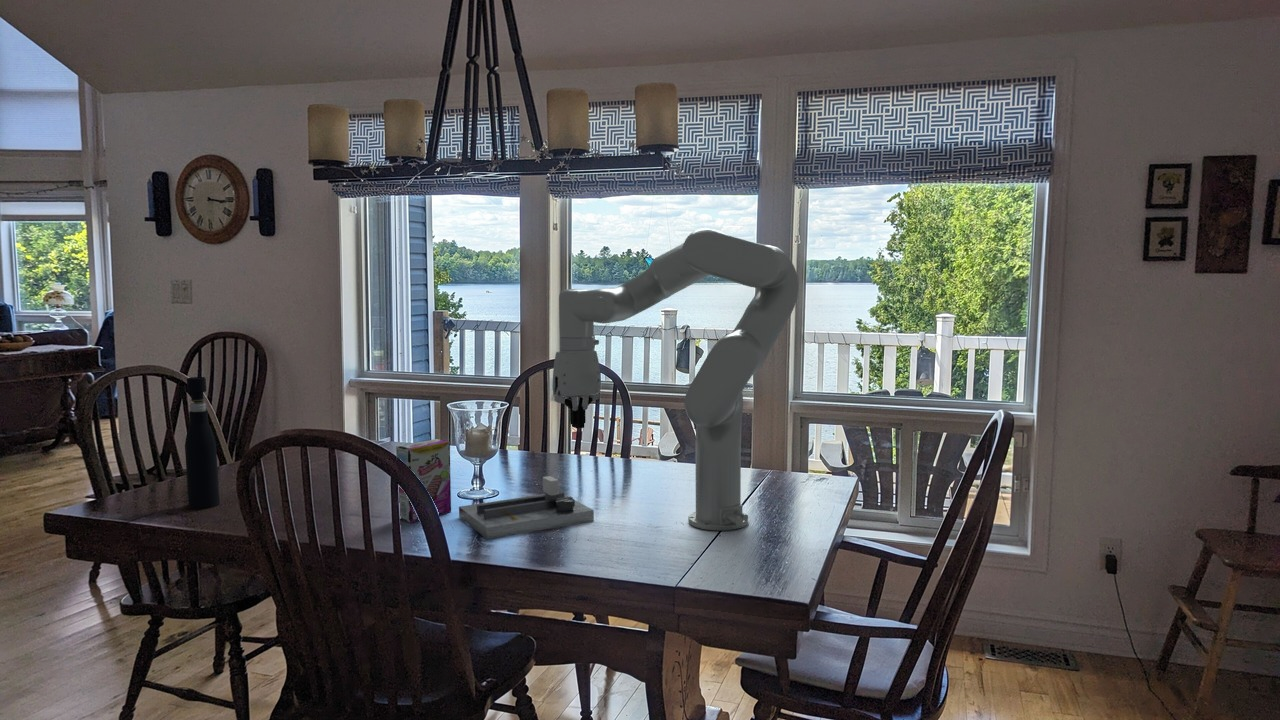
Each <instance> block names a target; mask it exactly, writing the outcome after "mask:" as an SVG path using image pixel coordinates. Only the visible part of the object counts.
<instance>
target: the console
mask: <svg viewBox="0 0 1280 720" xmlns="http://www.w3.org/2000/svg"><path fill="white" fill-rule="evenodd" d="M594 512H595V511H594V509H592V508H591V507H589V506H587V505H585V504H583V503H581V502H579V501H577V500H575V498H573V497H572V496H570V495H569V496H568V495H566V494H565V492H563V491H561V492H560V491H559V495H557V499H550V500H545V493H543V494H534V495H528V496H522V497H515V498H509V499H502V500H495V501H488V502H482V503H476V504H469V505H462V506H458V514H459V515H458V517H459V518H460V519H461V520H462V521H463V522H465V524H467V525H468V526H470V527H471V528H472V529H473V530H474V531H476V533H477V532H478V533H479V534H480V535H481V536H482V537H484V539H486V540H491V539H497V538H502V537H507V536H509V537H510V536H515V535H520V534H527V533H532V532H538V531H543V530H549V529H550V530H551V529H554V528H561V527H566V526H573V525H578V524H585V523H591V522H594V521H595V513H594Z"/></svg>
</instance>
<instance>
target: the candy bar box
mask: <svg viewBox="0 0 1280 720" xmlns="http://www.w3.org/2000/svg"><path fill="white" fill-rule="evenodd" d="M395 449H396V451H395V452H396V458H397V457H398V458H399V459H401V460H402V461H403V462H404V463H405V464H406V465H407V466H408V467H409V468H410V469H411V470H412V471H413V472H414V473H415V475H416V476H417V477H418V478H419V479H420V481H421V482H422V483H423V485H424V486H425V488H426V489H427V491H428V492H429V494H430V496H431V497H432V499H433V501H434V503H435V505H436V507H437V509H438V512H439V515H438V516H441V515H445V514H448V513H451V512H452V490H451V489H452V488H451V485H452V484H451V441H449V440H445V439H439V438H436V439H435V438H434V439H429V440H424V441H418V442H412V443H411V442H410V443H407V444H400V445H396V448H395ZM399 503H400V516H401V520H400V521H403V522H407V523H410V524H411V523H414V522H418V521H420V520H418V517H417V515H416V513H415V511H414V509H413V507H412V505H411V503H410V501H409V499H408V498H407V496H406V494H405V493H404V491H403V490H402V489H401V488H400V487H399Z"/></svg>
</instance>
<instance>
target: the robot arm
mask: <svg viewBox="0 0 1280 720" xmlns="http://www.w3.org/2000/svg"><path fill="white" fill-rule="evenodd" d="M710 276H713V277H715V278H718V279H719V278H720V279H721V280H722V279H723V280H726V281H729V282H732V283H736V284H738V285H741V286H742V285H743V286H745V287H748V288H755V289H756V290H755V294H754V297H753V298H752V299H751V301H750V302H749V304H748V305H747V307H746V308H745V310H744V313H743V314H742V315H741V317H740V319H739V321H738V323H737V324H736V326H735V327H734V329H733V331H732V332H731V333H729V334H726V335H724V336H723V337H721V338H720V339H719V340H718V341H717V342H716V343H715V344H714V345H713V346H712V348H711V350H710V351H709V353H708V354H707V356H706V358H705V359H704V361H703V363H702V364H701V367H700V368H699V370H698V372H697V373H696V375H695V377H694V378H693V380H692V382H691V383H690V385H689V387H688V389H687V391H686V393H685V396H684V403H683V405H684V406H683V407H684V410H685V413H686V416H687V418H688V419H689V421H691V422H692V423H693V424H694V425H696V426H695V427H696V429H695V458H694V459H695V511H694V512H692V513H689V515H688V524H689V525H691V526H693V527H695V528H697V529H700V530H704V531H705V530H707V531H720V532H721V531H722V532H723V531H732V530H738V529H741V528H744V527H746V526H747V525H748V523H749V515H748V514H747V513H743V508H744V507H743V504H741V501H742V500H741V499H742V498H741V497H742V496H741V494H742V493H741V491H742V489H741V488H742V487H741V479H742V478H741V477H742V476H741V475H742V474H741V471H742V470H741V469H742V468H741V467H742V466H741V464H742V463H741V461H742V460H741V455H742V454H741V453H742V447H741V446H742V423H743V421H742V420H743V411H744V395H743V391H744V389H745V388H746V386H747V384H748V383H749V381H750V379H751V378H752V377H753V376H754V375H755V374H757V373H758V372H759V371H760V370H761V369H762V367H763V366H764V363H765V361H766V359H767V358H768V355H769V354H770V352H771V350H772V349H773V347H774V345H775V343H776V342H777V340H778V339H779V337H780V336H781V333H782V331H783V329H784V327H785V325H786V324H787V322H788V321H789V318H790V317H791V315H792V313H793V311H794V308H795V306H796V304H797V300H798V297H799V290H800V289H799V287H800V286H799V285H800V284H799V276H798V274H797V270H796V267H795V265H794V264H793V262H792V260H791V259H790V257H789V256H788V255H787V254H786V252H784V250H782V249H780V248H779V247H777V246H773V245H770V244H762V243H759V242H754V241H750V240H746V239H742V238H738V237H736V236H731V235H728V234H726V233H725V232H722V231H720V230H718V229H712V228H705V227H704V228H703V227H702V228H700V229H696V230H694V231H692V232H691V233H689V235H687V237H686V239H684V242H683V243H681V244H679V245H677V246H675V247H674V248H672V249H670V250H668V251H666V252H665V253H663V254H661V255H658V256H657V257H655V258H654V259H653V260H652V261H651V262H650V264H649V266H648V268H647V269H645V271H643V272H642V273H641V274H639V275H637V276H636V277H633V278H632V279H630V280H629V281H626V282H625V283H623V284H621V285H619V286H615V287H605V288H603V287H602V288H598V289H597V288H596V289H591V290H590V289H586V288H567V289H563V290H561V291H560V292H559V296H558V317H559V318H558V319H559V320H558V323H559V324H558V325H559V327H558V328H559V351H556V352H555V356H554V360H553V361H554V362H553V371H552V393H553V395H554V403H555V402H556V403H559V404H564V406H566V408H567V409H568V410H570V411H569V414H570V415H569V416H570V417H569V418H570V419H569V420H570V421H569V422H570V424H571V427H572V428H575V429H577V430H578V429H584V428H585V424H586V410H588V407H589V405H590V404H591V403H592V402H595V401H597V400H600V399H601V394H600V392H601V385H602V384H601V383H602V380H601V370H600V361H599V356H598V353H597V350H595V348H596V346H598V345H599V344H600V340H599V339H598V338H595V335H594V333H595V331H594V328H595V327H594V326H595V325H594V324H595V323H596V324H610V323H615V322H616V323H617V322H622V321H625V320H628V319H630V318H632V317H634V316H636V315H639V314H640V313H642V312H644V311H646V310H648V309H649V308H652V307H654V306H656V304H659V303H660V302H662V301H664V300H666V299H668V298H670V297H671V296H674V295H675V294H676V293H679V292H680V291H682V290H684V289H686V288H688V287H689V286H693V284H696V283H697V282H700V281H701V280H704V279H705V278H708V277H710ZM577 398H578V399H577Z"/></svg>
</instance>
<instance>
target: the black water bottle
mask: <svg viewBox="0 0 1280 720" xmlns="http://www.w3.org/2000/svg"><path fill="white" fill-rule="evenodd" d="M186 389H187V393H188V394H190V396H191V397H190V398H191V399H190V402H192V403H190V405H189V407H190V408H189V410H190V411H189V412H188V413H189V415H188V418H189V424H188V425H189V426H188V428H187V431H186V437H185V443H184V453H185V468H186V469H185V470H186V482H187V483H186V484H187V497H188V507H189V509H192V510H204V509H203V508H205V509H211V508H215V507H218V506H219V505H220V490H219V489H220V487H219V474H218V473H219V471H218V457H217V456H218V454H217V443H216V442H217V441H216V439H215V436H214V432H213V429H212V428H211V425H210V423H209V415H208V410H207V407H206V406H207V404H206V402H204V400H205V399H204V398H205V397H204V393H205V392H207V380H206V377H205V376H194V377H187V378H186ZM214 506H215V507H214ZM210 507H211V508H210Z"/></svg>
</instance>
